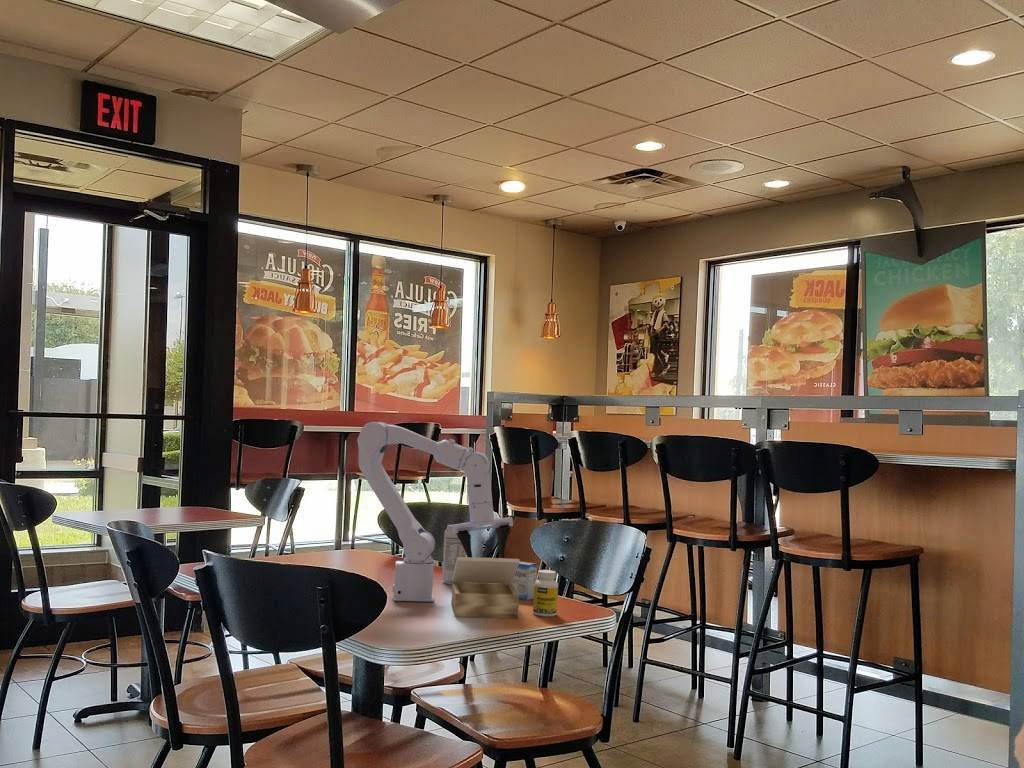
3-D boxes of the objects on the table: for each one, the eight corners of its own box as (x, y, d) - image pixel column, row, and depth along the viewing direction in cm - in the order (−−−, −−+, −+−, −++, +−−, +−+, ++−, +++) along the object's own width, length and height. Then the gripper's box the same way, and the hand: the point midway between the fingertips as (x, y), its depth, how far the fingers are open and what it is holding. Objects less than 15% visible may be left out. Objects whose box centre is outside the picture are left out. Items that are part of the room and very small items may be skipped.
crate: (454, 616, 207) (455, 593, 207) (451, 603, 221) (452, 582, 221) (517, 618, 208) (519, 595, 209) (510, 605, 222) (511, 584, 223)
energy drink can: (466, 581, 251) (469, 525, 252) (462, 585, 245) (465, 527, 246) (444, 580, 252) (447, 523, 253) (440, 584, 246) (443, 526, 247)
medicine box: (499, 596, 233) (501, 561, 234) (507, 593, 237) (509, 559, 238) (527, 600, 230) (529, 564, 230) (535, 598, 234) (537, 562, 234)
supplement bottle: (533, 616, 211) (535, 572, 212) (532, 611, 217) (534, 568, 217) (557, 617, 212) (559, 573, 212) (555, 612, 217) (557, 569, 217)
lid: (457, 560, 209) (457, 556, 210) (452, 582, 221) (452, 578, 221) (519, 562, 211) (519, 558, 211) (511, 584, 223) (511, 580, 223)
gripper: (453, 507, 219) (459, 566, 218) (513, 499, 223) (519, 557, 222) (448, 505, 226) (453, 562, 225) (506, 498, 230) (512, 554, 229)
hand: (486, 559), depth 224 cm, fingers open, 7 cm apart
